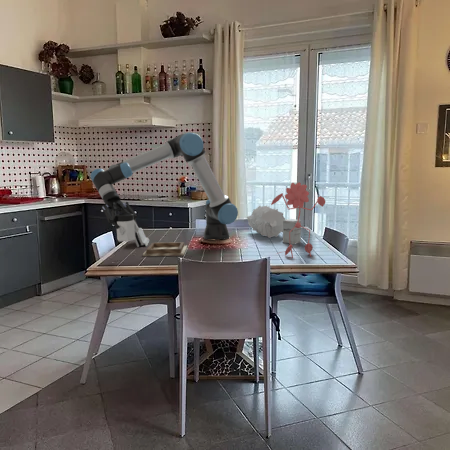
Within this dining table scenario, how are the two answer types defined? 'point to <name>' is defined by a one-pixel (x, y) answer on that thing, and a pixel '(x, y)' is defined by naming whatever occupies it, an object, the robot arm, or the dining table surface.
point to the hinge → (141, 238)
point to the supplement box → (294, 234)
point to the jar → (126, 227)
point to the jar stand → (166, 249)
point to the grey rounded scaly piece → (266, 221)
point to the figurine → (297, 198)
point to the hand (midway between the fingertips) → (130, 231)
